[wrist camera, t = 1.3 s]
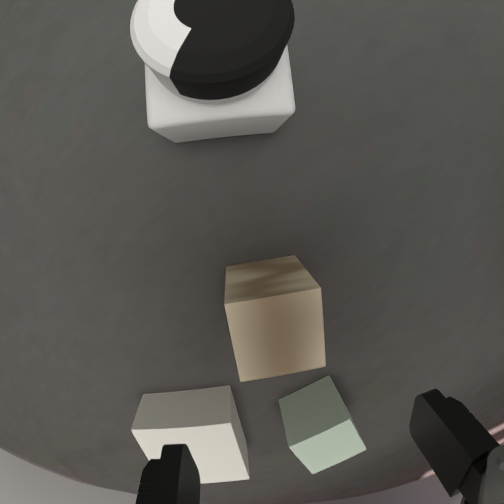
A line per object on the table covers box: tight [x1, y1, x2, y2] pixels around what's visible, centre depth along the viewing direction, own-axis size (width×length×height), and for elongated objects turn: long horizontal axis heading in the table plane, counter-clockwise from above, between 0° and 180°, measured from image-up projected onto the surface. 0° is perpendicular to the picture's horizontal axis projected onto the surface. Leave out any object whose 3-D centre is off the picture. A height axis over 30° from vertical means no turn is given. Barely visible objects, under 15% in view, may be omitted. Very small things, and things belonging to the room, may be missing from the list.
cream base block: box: [131, 385, 249, 483], centre depth 24 cm, size 8×8×5 cm
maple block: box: [224, 255, 326, 382], centre depth 20 cm, size 5×5×7 cm
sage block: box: [278, 375, 366, 474], centre depth 23 cm, size 5×5×6 cm
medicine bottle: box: [130, 0, 295, 143], centre depth 14 cm, size 7×7×12 cm
